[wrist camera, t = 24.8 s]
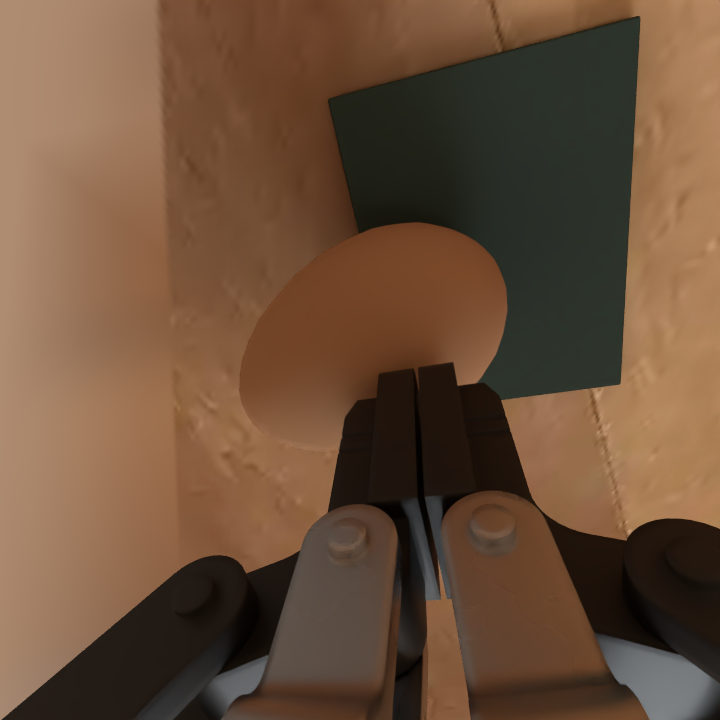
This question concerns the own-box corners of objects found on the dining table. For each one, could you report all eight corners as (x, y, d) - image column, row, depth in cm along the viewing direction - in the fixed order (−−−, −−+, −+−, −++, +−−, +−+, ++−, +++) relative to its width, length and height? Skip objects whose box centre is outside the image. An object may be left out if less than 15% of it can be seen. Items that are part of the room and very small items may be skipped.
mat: (329, 98, 13) (327, 99, 13) (632, 17, 12) (641, 14, 11) (400, 406, 19) (400, 413, 18) (615, 377, 17) (621, 384, 17)
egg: (467, 141, 12) (177, 273, 9) (600, 301, 11) (336, 507, 8) (400, 252, 17) (197, 364, 13) (491, 370, 16) (298, 516, 13)
